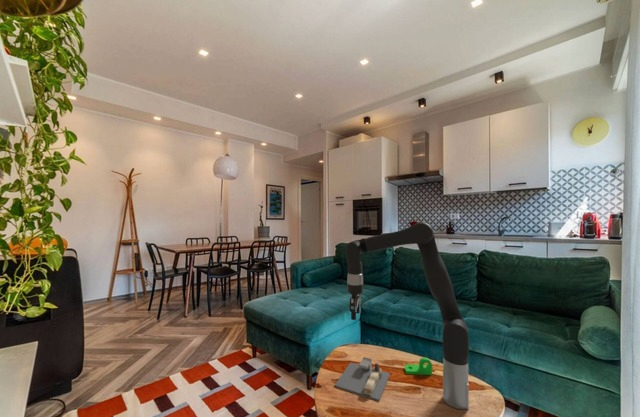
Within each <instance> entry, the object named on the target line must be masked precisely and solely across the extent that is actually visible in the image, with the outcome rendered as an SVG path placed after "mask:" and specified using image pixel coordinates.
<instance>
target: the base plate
mask: <svg viewBox="0 0 640 417" xmlns="http://www.w3.org/2000/svg"><path fill="white" fill-rule="evenodd" d="M359 364H360V363H359ZM359 364H358V363H354V362H350V363H349V364H347V367H346V368H345V370H344V371H343V372H342V374H341V375H340V376H339V378H338V380H337V381H336V383H335V384H334V388H337V389H340V390H343V391H346V392H349V393H352V394H355V395H358V396H361V397H364V398H367V399H369V400H373V401H376V402H380V401H381V398H382V396H383V393H384V390H385V388H386V386H387V384H388V380H389V378H390V375H391V373H390V372H387V371H383V370H382V376H381V377H380V378H379V379H378V381H377V384H376V386H375V388H374V390H373V392H372V395H371V396H370V395H367V394H364V387H365V385H366V383H367V381H368V379H369V377H370V375H371V373H372V368H373V367H372V368H371V370H370V371H368V370H365V369H362V368H361V367H359Z"/></svg>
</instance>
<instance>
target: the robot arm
mask: <svg viewBox="0 0 640 417" xmlns="http://www.w3.org/2000/svg"><path fill="white" fill-rule="evenodd" d="M434 233H435V232H434V229H433V227H432V225H430V223H428V222H425V221H419V222H416V223H414V225H410V226H409V227H407V228H405V229H401V230H397V231H393V232H388V233H382V234H376V235H374V236H369V237H367V238H360V239H356V240H353V241H349V242H348V243H347V245H346V247H345V256H346V257H345V258H346V261H347V277H346V278H347V279H346V280H347V282H346V283H347V288H346V289H347V293H348V294H351V296H350V298H349V312H351V314H350V316H351V317H350V320H353V321H356V320H357V314H360V312H361V311H360V310H361V309H360V308H361V307H360V306H361V302H362V300H361V298H362V294H363V293H364V274H363V262H362V261H361V255H362V254H366V253H373V252H379V251H383V250H386V249H390V248H394V247H398V246H404V245H414V244H417V245H416V246H417V247H418V249H419V252H420V255H421V261H422V267H423V272H424V276H425V280H426V283H427V286H428V288H429V290H430V293H431V295H432V297H433V299H434V300H435V302H436V303H437V306H438V308H439V311H440V314H441V319H442V376H443V377H442V397H443V401H444V402H445V403H446V404H447V405H448V406H450V407H452V408H454V409H458V410H469V408H470V407H469V398H470V396H469V394H470V392H469V391H470V390H469V356H470V354H469V352H470V351H469V350H470V349H469V348H470V347H469V344H470V343H469V342H470V341H469V338H470V337H469V328H468V326H467V323H466V322H465V320H464V317H463V315H462V312H461V311H460V308H459V305H458V304H457V300H456V299H457V298H456V295H455V291H454V287H453V283H452V280H451V278H450V275H449V272H448V269H447V267H446V265H445V263H444V260H443V258H442V257H441V254H440V251H439V249H438V246H437V242H436V238H435V234H434Z"/></svg>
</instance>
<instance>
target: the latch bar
mask: <svg viewBox="0 0 640 417" xmlns="http://www.w3.org/2000/svg"><path fill="white" fill-rule="evenodd" d="M382 371H383V370H382V368H380V365H379V363H378V362H375V363H374V367H372V373H371V375H370V377H369V379H368V381H367V383H366V385H365V387H364V394H367V395H370V396H371V395H372V392H373V390H374V388H375V386H376V384H377V381H378V379H379V378H380V377H381V376H382Z"/></svg>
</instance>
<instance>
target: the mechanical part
mask: <svg viewBox="0 0 640 417" xmlns="http://www.w3.org/2000/svg"><path fill="white" fill-rule="evenodd" d="M404 371H405V374H406V375H422V376H423V375H425V376H426V375H427V376H432V375H433V364H432V361H431V360H430V359H429V358H428V357H422V358H420V359H419V361H418V364H411V363H410V364H406V365H404Z"/></svg>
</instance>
